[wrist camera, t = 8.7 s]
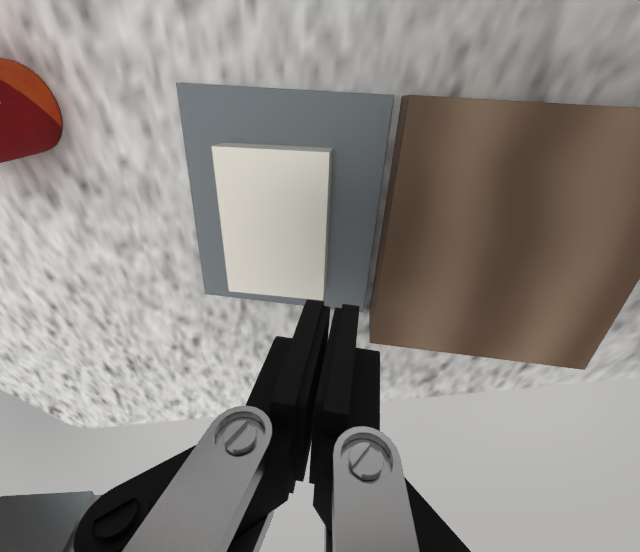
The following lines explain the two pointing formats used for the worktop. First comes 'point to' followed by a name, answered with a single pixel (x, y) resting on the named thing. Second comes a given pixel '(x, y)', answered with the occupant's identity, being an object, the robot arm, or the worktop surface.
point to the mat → (292, 130)
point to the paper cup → (26, 113)
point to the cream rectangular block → (274, 217)
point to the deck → (508, 229)
